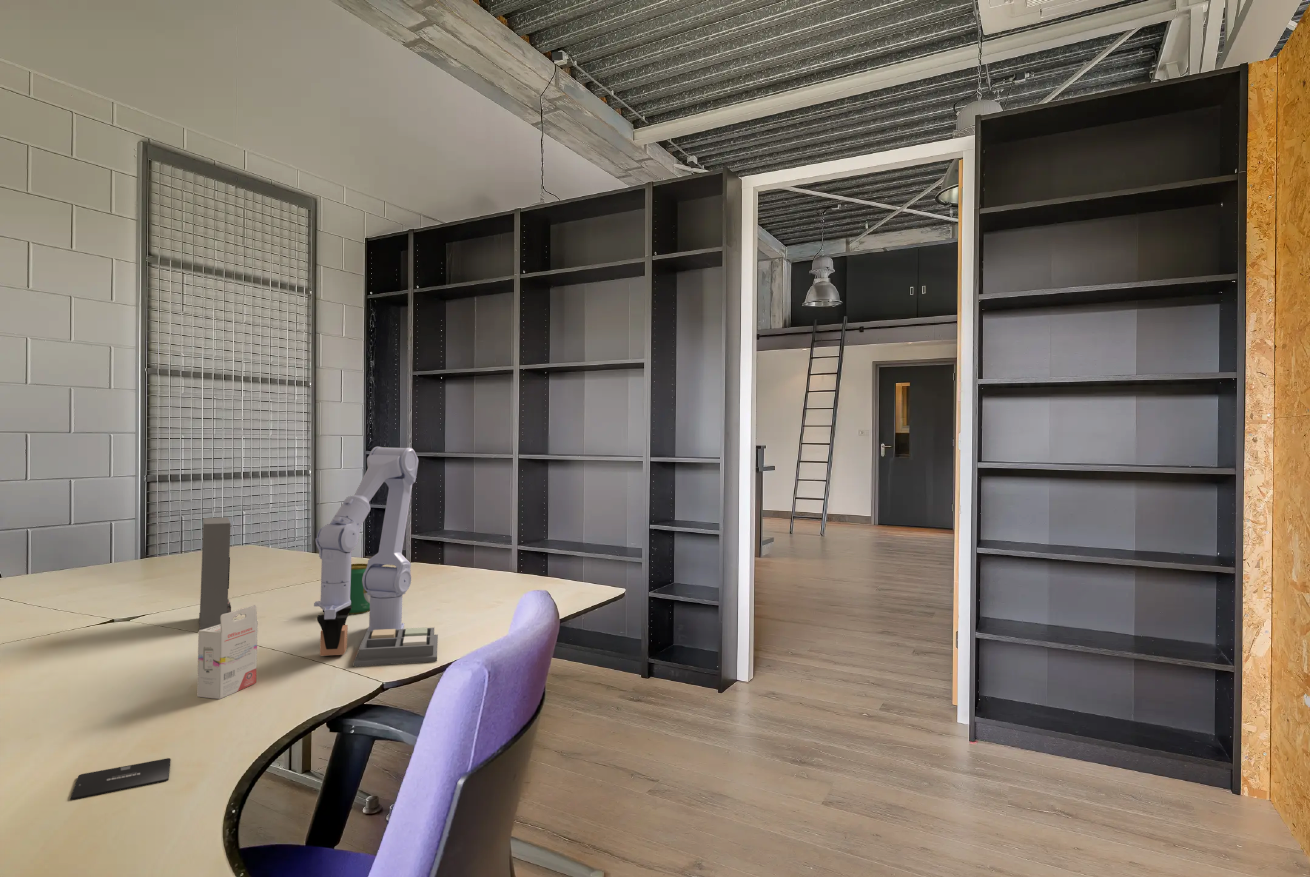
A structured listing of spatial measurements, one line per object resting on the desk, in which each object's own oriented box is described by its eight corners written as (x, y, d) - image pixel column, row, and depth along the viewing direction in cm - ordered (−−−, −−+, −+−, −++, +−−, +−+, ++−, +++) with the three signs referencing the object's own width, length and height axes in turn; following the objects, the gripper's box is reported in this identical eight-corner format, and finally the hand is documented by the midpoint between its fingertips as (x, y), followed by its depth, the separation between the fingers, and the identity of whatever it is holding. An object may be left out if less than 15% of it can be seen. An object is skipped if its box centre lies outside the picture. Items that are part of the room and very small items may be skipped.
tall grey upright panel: (230, 628, 162) (234, 523, 162) (199, 631, 158) (203, 524, 159) (228, 615, 173) (231, 517, 174) (199, 618, 170) (202, 518, 170)
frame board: (363, 642, 154) (363, 627, 154) (437, 638, 158) (438, 623, 158) (353, 666, 137) (354, 649, 137) (436, 661, 142) (437, 644, 142)
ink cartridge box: (234, 680, 128) (237, 602, 128) (257, 683, 127) (259, 604, 127) (194, 697, 119) (197, 612, 119) (218, 700, 118) (221, 615, 118)
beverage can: (364, 615, 178) (366, 568, 178) (334, 614, 178) (335, 567, 178) (377, 607, 186) (378, 563, 186) (348, 606, 186) (349, 562, 186)
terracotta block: (323, 649, 146) (324, 625, 146) (346, 647, 147) (347, 624, 147) (319, 655, 142) (320, 631, 142) (344, 654, 143) (344, 630, 143)
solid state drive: (78, 779, 91) (78, 774, 91) (170, 762, 96) (170, 757, 96) (69, 803, 85) (70, 798, 85) (168, 783, 90) (168, 778, 90)
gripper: (321, 574, 150) (319, 636, 150) (308, 588, 137) (306, 656, 136) (355, 573, 152) (353, 634, 152) (346, 587, 139) (344, 654, 139)
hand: (333, 645), depth 145 cm, fingers closed on terracotta block, 5 cm apart
